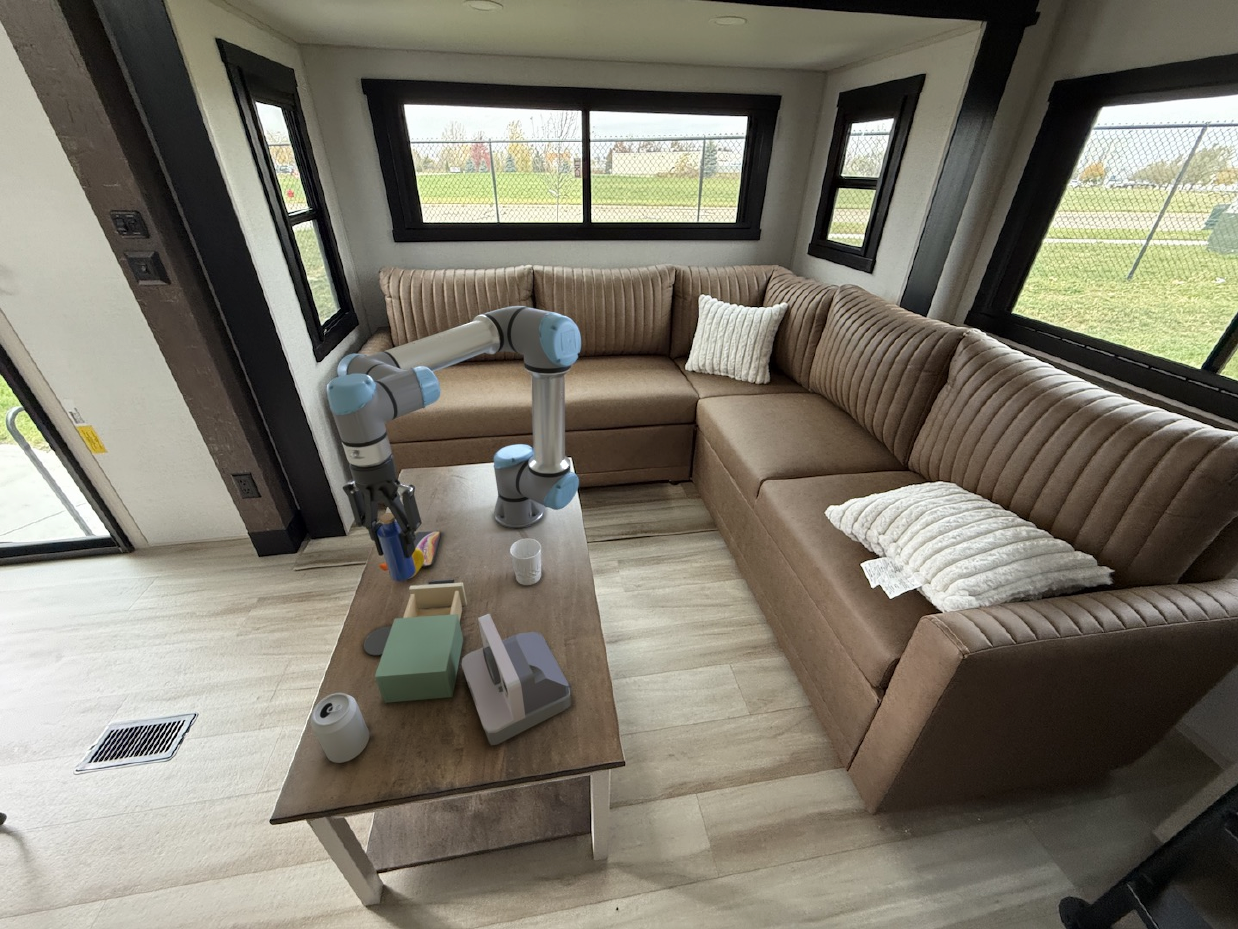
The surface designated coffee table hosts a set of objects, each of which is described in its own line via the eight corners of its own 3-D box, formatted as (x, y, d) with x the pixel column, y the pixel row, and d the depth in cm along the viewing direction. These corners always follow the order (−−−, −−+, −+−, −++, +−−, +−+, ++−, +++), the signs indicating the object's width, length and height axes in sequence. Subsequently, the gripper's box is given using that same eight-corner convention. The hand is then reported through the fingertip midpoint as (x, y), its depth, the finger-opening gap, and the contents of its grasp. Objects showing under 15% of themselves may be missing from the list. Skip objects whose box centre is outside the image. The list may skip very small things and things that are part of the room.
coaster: (370, 628, 118) (370, 627, 118) (405, 626, 119) (405, 625, 118) (359, 657, 111) (358, 656, 111) (396, 654, 112) (396, 653, 112)
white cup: (537, 589, 129) (535, 560, 124) (509, 584, 131) (505, 556, 125) (547, 568, 136) (545, 540, 131) (520, 564, 137) (516, 536, 132)
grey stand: (462, 662, 110) (451, 615, 103) (552, 636, 117) (549, 590, 109) (474, 753, 94) (462, 706, 86) (579, 717, 100) (577, 670, 92)
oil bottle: (397, 563, 110) (381, 508, 102) (420, 565, 109) (405, 510, 101) (385, 580, 105) (367, 523, 97) (408, 582, 105) (393, 526, 97)
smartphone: (441, 530, 147) (431, 565, 135) (442, 532, 148) (432, 567, 135) (415, 531, 146) (403, 567, 134) (416, 534, 147) (403, 569, 134)
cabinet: (402, 644, 114) (394, 618, 110) (463, 639, 116) (457, 614, 111) (384, 703, 102) (374, 677, 97) (452, 697, 103) (445, 671, 99)
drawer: (419, 593, 126) (414, 573, 123) (469, 589, 128) (465, 570, 124) (401, 651, 111) (394, 631, 108) (458, 647, 113) (453, 626, 109)
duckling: (394, 594, 127) (384, 567, 121) (382, 584, 130) (372, 557, 124) (431, 568, 135) (424, 541, 129) (419, 559, 137) (411, 532, 132)
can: (336, 727, 97) (318, 690, 91) (376, 724, 98) (360, 687, 92) (320, 767, 91) (299, 730, 85) (362, 764, 92) (344, 726, 85)
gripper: (311, 464, 90) (346, 560, 102) (407, 472, 88) (431, 569, 100) (336, 444, 96) (366, 537, 108) (426, 451, 94) (446, 544, 107)
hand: (397, 552), depth 104 cm, fingers closed on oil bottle, 5 cm apart
